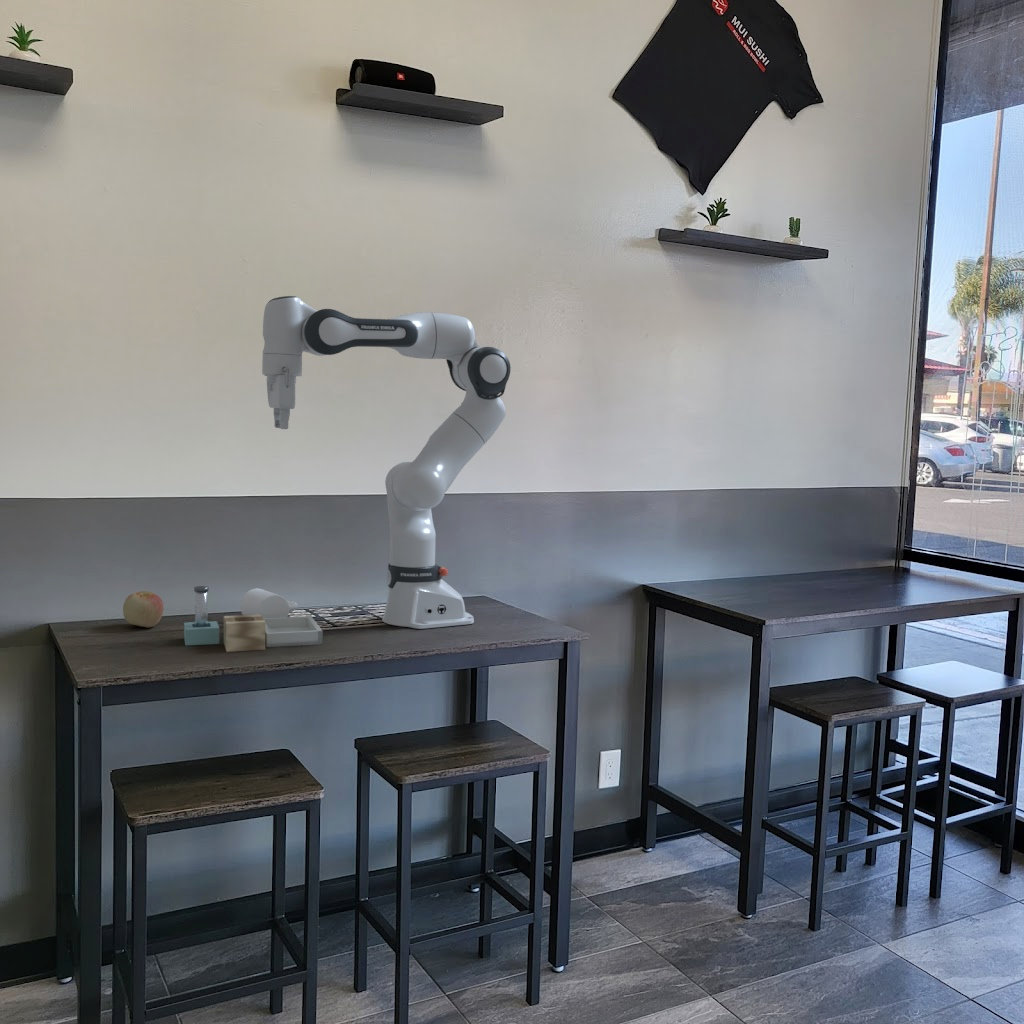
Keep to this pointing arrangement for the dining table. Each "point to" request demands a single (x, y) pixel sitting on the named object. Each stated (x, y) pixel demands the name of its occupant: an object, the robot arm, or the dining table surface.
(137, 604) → the apple
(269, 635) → the tray
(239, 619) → the beech block
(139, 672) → the dining table surface
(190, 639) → the stand
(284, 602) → the mug
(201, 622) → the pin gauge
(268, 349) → the robot arm
